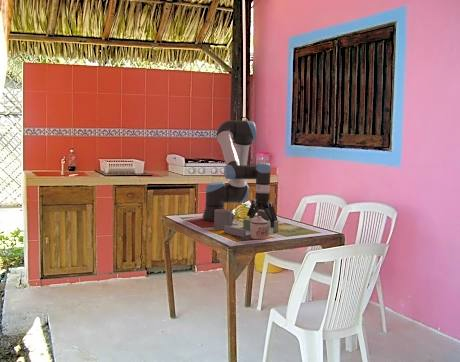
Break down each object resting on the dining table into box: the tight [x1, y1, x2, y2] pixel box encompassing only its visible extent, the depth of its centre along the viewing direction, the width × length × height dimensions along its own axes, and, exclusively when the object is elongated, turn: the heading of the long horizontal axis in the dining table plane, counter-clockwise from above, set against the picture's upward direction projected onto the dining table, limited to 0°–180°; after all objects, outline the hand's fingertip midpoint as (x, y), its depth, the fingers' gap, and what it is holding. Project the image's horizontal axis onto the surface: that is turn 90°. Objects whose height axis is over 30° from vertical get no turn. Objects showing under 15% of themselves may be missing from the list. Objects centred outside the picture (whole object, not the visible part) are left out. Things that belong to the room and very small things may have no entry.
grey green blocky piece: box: [223, 209, 279, 238], centre depth 310 cm, size 16×27×11 cm, turn 133°
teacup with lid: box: [250, 216, 269, 240], centre depth 295 cm, size 12×9×12 cm
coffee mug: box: [213, 208, 235, 230], centre depth 322 cm, size 13×10×10 cm
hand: (261, 231), depth 296 cm, fingers open, 13 cm apart
